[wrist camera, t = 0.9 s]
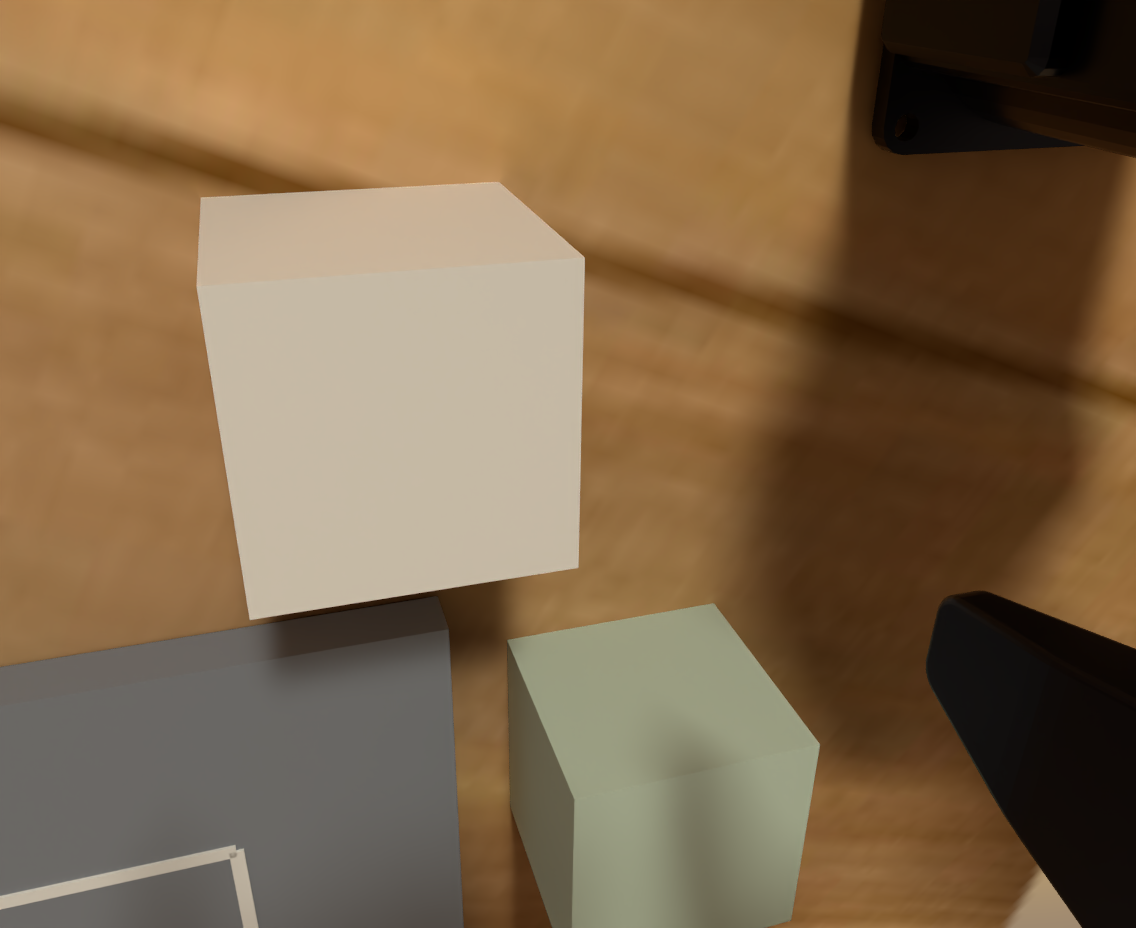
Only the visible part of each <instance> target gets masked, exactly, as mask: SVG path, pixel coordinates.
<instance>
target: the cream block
mask: <svg viewBox="0 0 1136 928" xmlns="http://www.w3.org/2000/svg"><path fill="white" fill-rule="evenodd" d="M584 271H585V257H584V256H582V255H581V254H580V253H579V252H578V251H577V250H576V249H574V248H573V247H572V246H571V245H570V244H569V243H568V242H567V241H565V240H564V239H563V238H562V237H561V236H560V235H559V234H557V233H556V232H555V231H554V230H553V229H552V228H551V227H550V226H548V225H547V224H546V223H545V222H544V221H543V220H542V219H540V218H539V217H538V216H537V215H536V214H535V213H534V212H532V211H531V210H530V209H529V208H528V207H527V206H526V205H525V204H523V203H522V202H521V201H520V200H519V199H518V198H517V197H515V196H514V195H513V194H512V193H511V192H510V191H509V190H507V189H506V188H505V187H504V186H503V185H502V184H501V183H500V182H488V183H469V184H450V185H431V186H412V187H393V188H374V189H355V190H336V191H317V192H298V193H279V194H260V195H241V196H222V197H203V198H201V206H200V226H199V247H198V268H197V292H198V298H199V304H200V311H201V317H202V323H203V330H204V336H205V342H206V348H207V355H208V361H209V367H210V373H211V380H212V386H213V392H214V398H215V405H216V411H217V417H218V424H219V430H220V436H221V442H222V449H223V455H224V461H225V467H226V474H227V480H228V486H229V492H230V499H231V505H232V511H233V517H234V524H235V530H236V536H237V543H238V549H239V555H240V561H241V568H242V574H243V580H244V586H245V593H246V599H247V605H248V611H249V618H250V620H253V619H259V618H265V617H272V616H278V615H284V614H290V613H297V612H303V611H309V610H316V609H322V608H328V607H335V606H341V605H347V604H353V603H360V602H366V601H372V600H379V599H385V598H391V597H397V596H404V595H410V594H416V593H423V592H429V591H435V590H442V589H448V588H454V587H460V586H467V585H473V584H479V583H486V582H492V581H498V580H504V579H511V578H517V577H523V576H530V575H536V574H542V573H548V572H555V571H561V570H567V569H574V568H578V560H579V512H580V464H581V416H582V367H583V319H584Z"/></svg>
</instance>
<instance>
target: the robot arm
mask: <svg viewBox="0 0 1136 928" xmlns="http://www.w3.org/2000/svg"><path fill="white" fill-rule="evenodd" d="M881 38H882V40H883V42H884V46H883V53H882V59H881V66H880V73H879V80H878V87H877V94H876V101H875V108H874V115H873V122H872V136H873V138H874V141H875V143H876V144H877V145H878V146H879V147H880V148H881V149H883V150H886V151H889V152H892V153H896V154H901V155H910V154H929V153H949V152H969V151H988V150H1008V149H1028V148H1047V147H1067V146H1089V147H1093V148H1097V149H1101V150H1105V151H1109V152H1113V153H1118V154H1122V155H1126V156H1130V157H1134V158H1136V0H886V5H885V12H884V19H883V26H882V33H881ZM903 115H905V116H906V122H907V124H906V127H905V129H904V131H903V132H902V133H901V134H900V135H899V136H898V137H896V135H895V127H896V124H897V121H898V120H899V119H900V118H901V117H902V116H903ZM926 673H927V678H928V681H929V684H930V686H931V688H932V690H933V692H934V694H935V695H936V697H937V699H938V701H939V702H940V704H941V706H942V708H943V710H944V711H945V713H946V715H947V717H948V718H949V720H950V722H951V724H952V725H953V727H954V729H955V731H956V733H957V734H958V736H959V738H960V740H961V741H962V743H963V745H964V747H965V748H966V750H967V752H968V754H969V755H970V757H971V759H972V761H973V763H974V764H975V766H976V768H977V770H978V771H979V773H980V775H981V777H982V778H983V780H984V782H985V784H986V786H987V787H988V789H989V791H990V793H991V794H992V796H993V798H994V799H995V801H996V803H997V804H998V806H999V808H1000V809H1001V811H1002V813H1003V814H1004V816H1005V817H1006V819H1007V820H1008V822H1009V823H1010V825H1011V826H1012V828H1013V829H1014V831H1015V832H1016V834H1017V835H1018V837H1019V838H1020V840H1021V841H1022V843H1023V844H1024V845H1025V847H1026V848H1027V850H1028V851H1029V853H1030V854H1031V855H1032V857H1033V858H1034V860H1035V861H1036V863H1037V864H1038V865H1039V867H1040V868H1041V870H1042V871H1043V873H1044V874H1045V875H1046V877H1047V878H1048V880H1049V881H1050V883H1051V884H1052V885H1053V887H1054V888H1055V890H1056V891H1057V892H1058V894H1059V895H1060V897H1061V898H1062V900H1063V901H1064V903H1065V904H1066V905H1067V907H1068V908H1069V910H1070V911H1071V912H1072V914H1073V915H1074V917H1075V918H1076V920H1077V921H1078V923H1079V924H1080V925H1081V927H1082V928H1136V649H1135V648H1132V647H1130V646H1127V645H1124V644H1122V643H1119V642H1117V641H1114V640H1111V639H1109V638H1106V637H1104V636H1101V635H1098V634H1096V633H1093V632H1091V631H1088V630H1086V629H1083V628H1080V627H1078V626H1075V625H1073V624H1070V623H1067V622H1065V621H1062V620H1060V619H1057V618H1054V617H1052V616H1049V615H1047V614H1044V613H1041V612H1039V611H1036V610H1034V609H1031V608H1029V607H1026V606H1023V605H1021V604H1018V603H1016V602H1013V601H1010V600H1008V599H1005V598H1003V597H1000V596H997V595H995V594H992V593H990V592H986V591H973V592H967V593H961V594H955V595H951V596H948V597H946V598H945V599H944V600H943V601H942V602H941V604H940V605H939V608H938V611H937V615H936V619H935V624H934V628H933V632H932V636H931V641H930V645H929V649H928V654H927V658H926Z"/></svg>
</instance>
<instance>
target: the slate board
mask: <svg viewBox="0 0 1136 928" xmlns="http://www.w3.org/2000/svg"><path fill="white" fill-rule="evenodd" d="M0 928H464V922H463V903H462V883H461V863H460V843H459V823H458V803H457V783H456V763H455V743H454V723H453V703H452V683H451V663H450V643H449V628H448V625H447V622H446V620H445V617H444V614H443V611H442V608H441V605H440V602H439V599H438V596H435V597H429V598H423V599H417V600H410V601H404V602H398V603H392V604H386V605H380V606H374V607H367V608H361V609H355V610H349V611H343V612H337V613H330V614H324V615H318V616H312V617H306V618H300V619H294V620H287V621H281V622H275V623H269V624H263V625H257V626H251V627H244V628H238V629H232V630H226V631H220V632H214V633H207V634H201V635H195V636H189V637H183V638H177V639H171V640H164V641H158V642H152V643H146V644H140V645H134V646H128V647H121V648H115V649H109V650H103V651H97V652H91V653H84V654H78V655H72V656H66V657H60V658H54V659H48V660H41V661H35V662H29V663H23V664H17V665H11V666H5V667H0Z"/></svg>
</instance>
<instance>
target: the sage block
mask: <svg viewBox="0 0 1136 928" xmlns="http://www.w3.org/2000/svg"><path fill="white" fill-rule="evenodd" d="M507 661H508V718H509V774H510V807H511V810H512V813H513V816H514V819H515V821H516V824H517V827H518V830H519V833H520V836H521V839H522V842H523V845H524V848H525V850H526V853H527V856H528V859H529V862H530V865H531V868H532V871H533V874H534V877H535V879H536V882H537V885H538V888H539V891H540V894H541V897H542V900H543V903H544V906H545V908H546V911H547V914H548V917H549V920H550V923H551V926H552V928H766V927H769V926H773V925H777V924H780V923H784V922H788V921H791V917H792V911H793V905H794V899H795V893H796V887H797V881H798V875H799V869H800V863H801V857H802V851H803V845H804V839H805V833H806V826H807V820H808V814H809V808H810V802H811V796H812V790H813V784H814V778H815V772H816V766H817V760H818V754H819V748H820V744H819V742H818V741H817V740H816V738H815V737H814V736H813V734H812V733H811V732H810V730H809V729H808V728H807V726H806V725H805V724H804V722H803V721H802V720H801V718H800V717H799V716H798V714H797V713H796V712H795V710H794V709H793V708H792V706H791V705H790V704H789V703H788V701H787V700H786V699H785V697H784V696H783V695H782V693H781V692H780V691H779V689H778V688H777V687H776V685H775V684H774V683H773V681H772V680H771V679H770V677H769V676H768V675H767V673H766V672H765V671H764V669H763V668H762V667H761V665H760V664H759V663H758V661H757V660H756V659H755V657H754V656H753V655H752V653H751V652H750V651H749V649H748V648H747V647H746V645H745V644H744V643H743V641H742V640H741V639H740V637H739V636H738V635H737V633H736V632H735V631H734V629H733V628H732V627H731V625H730V624H729V623H728V622H727V620H726V619H725V618H724V616H723V615H722V614H721V612H720V611H719V610H718V608H717V607H716V606H715V604H714V603H713V604H707V605H702V606H696V607H691V608H685V609H679V610H674V611H668V612H662V613H657V614H651V615H645V616H640V617H634V618H629V619H623V620H617V621H612V622H606V623H600V624H595V625H589V626H583V627H578V628H572V629H567V630H561V631H555V632H550V633H544V634H538V635H533V636H527V637H521V638H516V639H510V640H507Z"/></svg>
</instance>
